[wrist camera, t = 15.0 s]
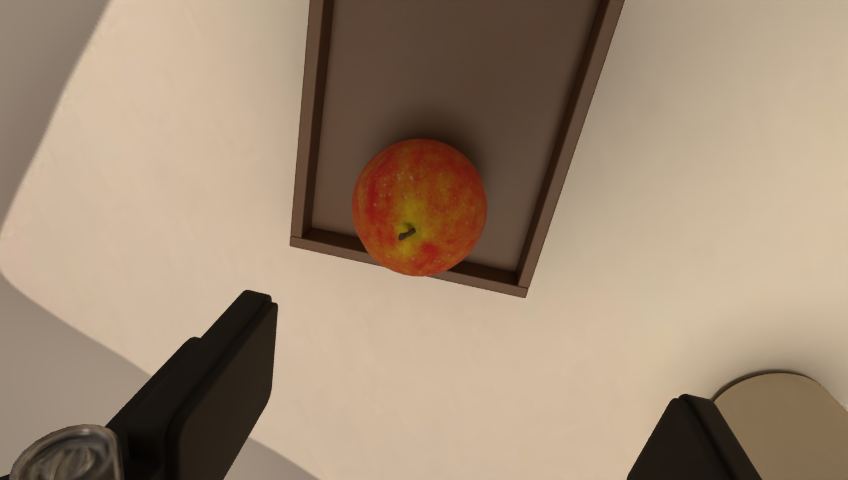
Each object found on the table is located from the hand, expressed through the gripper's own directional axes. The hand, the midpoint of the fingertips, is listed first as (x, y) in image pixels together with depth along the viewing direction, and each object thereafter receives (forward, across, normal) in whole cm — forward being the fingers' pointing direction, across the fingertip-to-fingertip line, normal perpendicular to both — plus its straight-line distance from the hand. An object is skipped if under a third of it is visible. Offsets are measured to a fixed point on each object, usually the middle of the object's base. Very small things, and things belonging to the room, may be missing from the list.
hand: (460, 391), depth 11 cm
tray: (+18, +3, -2) cm, 18 cm away
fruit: (+18, +3, +1) cm, 18 cm away
